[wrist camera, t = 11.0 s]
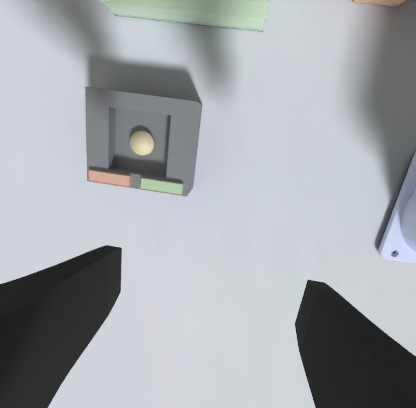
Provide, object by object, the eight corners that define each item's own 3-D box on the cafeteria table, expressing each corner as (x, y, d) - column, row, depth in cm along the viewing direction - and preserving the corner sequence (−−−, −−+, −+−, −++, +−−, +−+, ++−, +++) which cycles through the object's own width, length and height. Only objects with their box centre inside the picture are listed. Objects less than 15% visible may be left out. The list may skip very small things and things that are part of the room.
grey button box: (202, 104, 18) (195, 100, 15) (192, 187, 20) (185, 197, 17) (105, 91, 18) (82, 86, 15) (105, 174, 20) (84, 181, 17)
